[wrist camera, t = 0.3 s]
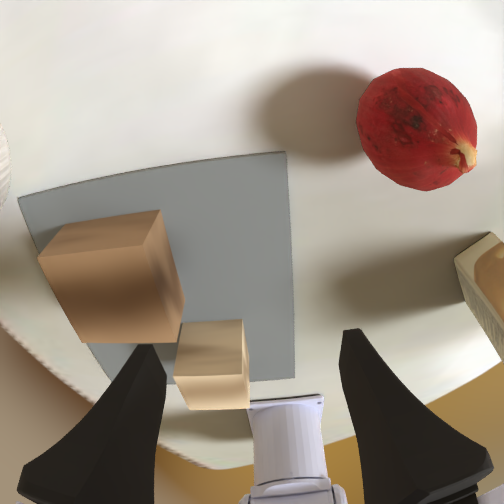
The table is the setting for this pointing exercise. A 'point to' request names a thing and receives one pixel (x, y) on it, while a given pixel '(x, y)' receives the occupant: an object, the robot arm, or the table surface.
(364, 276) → the table surface
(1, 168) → the ramekin
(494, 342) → the skincare box
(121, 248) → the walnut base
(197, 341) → the birch block
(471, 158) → the onion
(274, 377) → the mat
